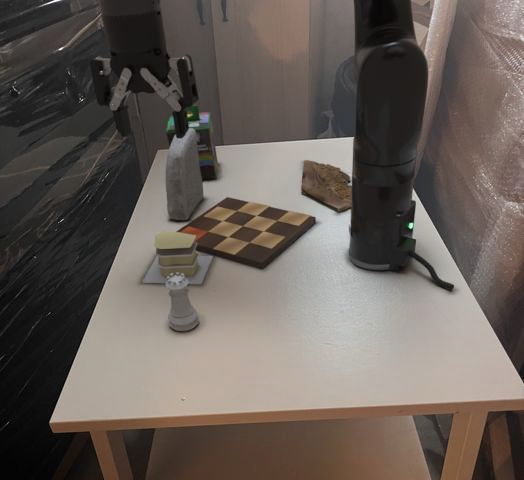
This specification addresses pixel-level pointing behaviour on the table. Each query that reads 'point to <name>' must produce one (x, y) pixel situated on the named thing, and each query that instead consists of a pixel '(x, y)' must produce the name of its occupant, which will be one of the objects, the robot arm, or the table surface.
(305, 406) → the table surface
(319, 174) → the wooden fragment
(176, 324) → the rook chess piece
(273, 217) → the game board
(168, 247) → the stacked layers on plate
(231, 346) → the table surface
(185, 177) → the decorative stone
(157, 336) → the table surface
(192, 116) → the chalk box
